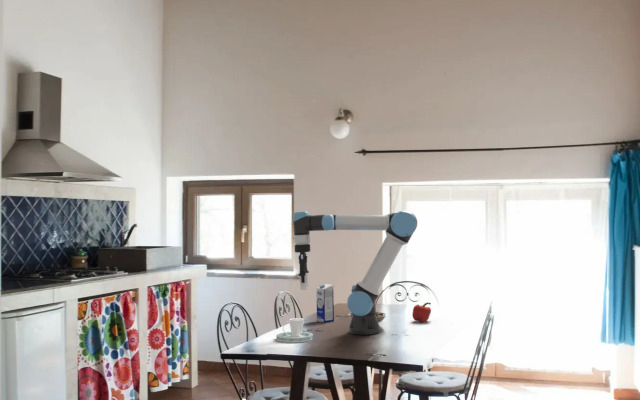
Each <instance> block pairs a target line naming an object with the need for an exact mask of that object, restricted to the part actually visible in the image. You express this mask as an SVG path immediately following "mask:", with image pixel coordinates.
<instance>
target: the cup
mask: <svg viewBox="0 0 640 400" xmlns="http://www.w3.org/2000/svg"><path fill="white" fill-rule="evenodd" d="M304 321H305V319H304V318H302V317H301V318H299V317H295V318H289V319H288V320H287V321H285V322H284V323H283V326H282V331H283V333H284V332H285V333H286V332H287V331H286V330H285V329H284V326H285V325H286V323H288V324H289V327H290V328H289V329H290V332H291V333H292V334H293V336H291V335H289V334H287V333H286V334H287V335H289V336H291V337H301V335H300V334H302V332H303V329H304Z"/></svg>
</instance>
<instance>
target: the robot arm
mask: <svg viewBox="0 0 640 400" xmlns="http://www.w3.org/2000/svg"><path fill="white" fill-rule="evenodd" d="M292 215H293V217H292V218H293V219H292V223H293V237H292V239H293V242H294V244H295V245H294V252H295V253H296V254H297V253H299V255H298V265H299V273H298V274H297V275H298V277H299V282H300V286H299V287H300V291H306V290H307V287H309V281H308V280H309V279H308V276H309V273H310V271H309V270H308V255H307V253H309V252H311V244H310V243H311V237H310V235H311V234H310V232H315V231H316V232H318V231H320V232H321V231H385V235H386V236H385V239H384V240H383V242H382V244H381V245H380V247H379V249H378V251H377V253H376V255H375V257H374V258H373V260H372V262H371V264H370V266H369V268H368V269H367V271H366V273H365V275H364V277H363V279H362V280H361V281H358V282H356V284H354V285H352V287H351V294H349V295H348V298H347V303H346V305H347V308H348V310H349V312H350V313H351V316H352V317H351V320H350V322H349V323H350V324H349V327H348V331H349V333H350V334H353V335H363V336H364V335H366V336H367V335H376V334H379V333H380V332H381V328H380V325H379V321H378V318H377V302H376V301H377V299H378V298H379V295H380V292H379V289H380V287H381V286H382V284H383V282H384V280H385V278H386V276H387V275H388V273H389V271H390V269H391V268H392V266H393V264H394V262H395V261H396V258H397V256H398V254H399V252H400V251H401V248H402V247H403V246H405V245H407V244H408V243H409V241H410V240H411V238H412V236H413V234H414V233H415V231H416V229H417V227H418V219H417V217H416V215H415V214H414V213H412V212H410V211H408V210H399V211H397V212H389V213H387V214H328V213H327V214H317V215H310V213H309V212H308V211H295V212H294V213H293V214H292Z"/></svg>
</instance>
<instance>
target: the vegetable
mask: <svg viewBox="0 0 640 400" xmlns="http://www.w3.org/2000/svg"><path fill="white" fill-rule="evenodd" d="M431 304H432V303H431V302H425V303H424V304H423V305H420V304H415V306H413V308H412V315H411V316H412V319H413V320H414V321H415V322H417V321H418V322H420V323H425V322H427V321H428V320H429V318H430V315H431V313H432V310H431V307H429V306H430V305H431ZM427 305H429V306H427Z"/></svg>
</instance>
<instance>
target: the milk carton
mask: <svg viewBox="0 0 640 400" xmlns="http://www.w3.org/2000/svg"><path fill="white" fill-rule="evenodd" d="M315 289H316V295H315V296H316V322H320V323H323V324H325V323H326V324H327V323H333V322H335V309H334V308H335V307H334V306H335V305H334V304H335V303H334V302H335V301H334V295H335V294H334V285H333V284H330V283H325V284H321V285H319V286H318V287H316V288H315Z"/></svg>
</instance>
